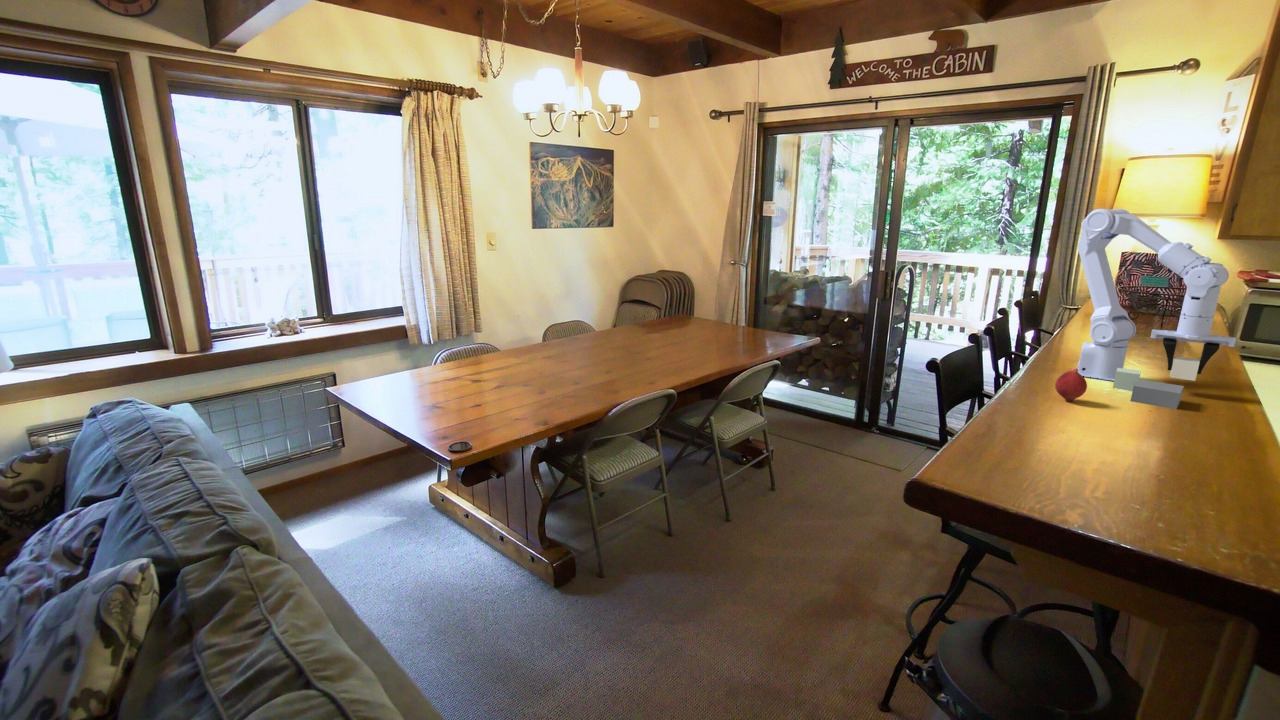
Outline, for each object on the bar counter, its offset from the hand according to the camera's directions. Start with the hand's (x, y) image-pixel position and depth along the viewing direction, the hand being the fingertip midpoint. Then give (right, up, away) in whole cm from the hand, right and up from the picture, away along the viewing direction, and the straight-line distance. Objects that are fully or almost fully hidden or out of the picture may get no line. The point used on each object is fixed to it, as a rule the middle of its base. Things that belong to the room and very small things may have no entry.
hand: (1183, 371), depth 139 cm
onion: (-31, -7, -4) cm, 32 cm away
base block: (-11, -7, -5) cm, 14 cm away
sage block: (-9, -4, +6) cm, 12 cm away
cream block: (0, -1, 0) cm, 1 cm away
